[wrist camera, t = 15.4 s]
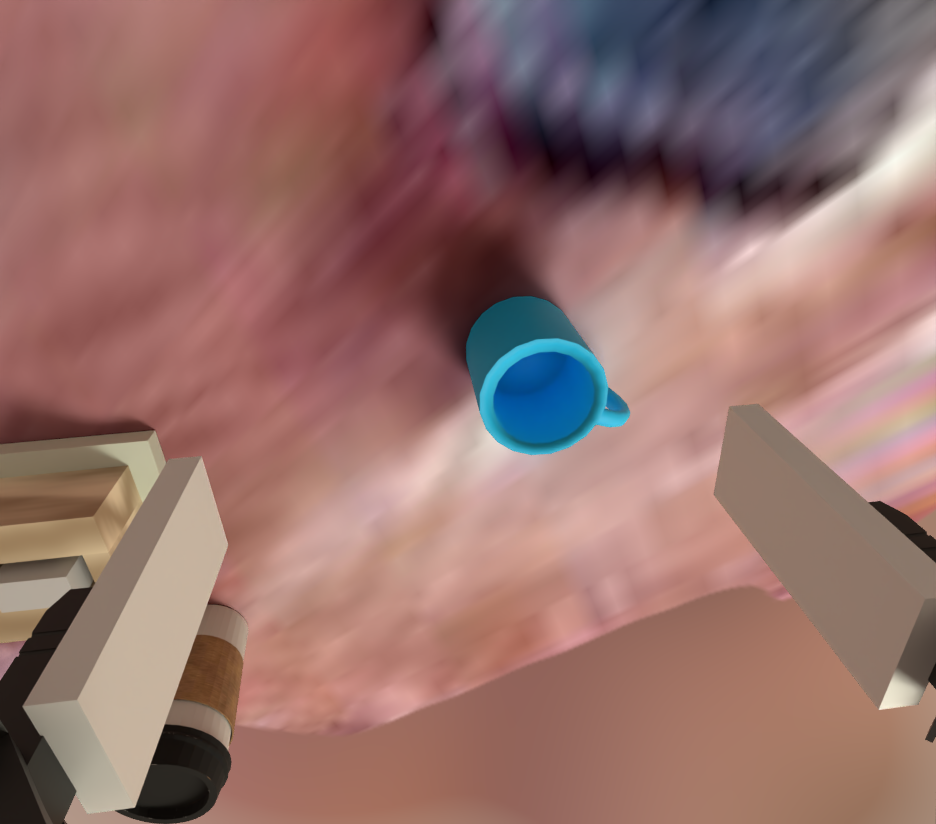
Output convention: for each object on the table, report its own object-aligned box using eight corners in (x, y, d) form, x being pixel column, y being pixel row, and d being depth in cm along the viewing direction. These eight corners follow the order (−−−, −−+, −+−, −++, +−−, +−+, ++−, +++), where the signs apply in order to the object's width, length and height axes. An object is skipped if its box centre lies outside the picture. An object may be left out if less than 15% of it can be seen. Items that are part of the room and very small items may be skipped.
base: (-45, 448, 45) (-133, 522, 37) (154, 430, 46) (108, 498, 38) (30, 591, 51) (-32, 678, 44) (203, 572, 52) (171, 655, 45)
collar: (167, 568, 50) (140, 626, 45) (38, 583, 49) (-4, 643, 44) (128, 465, 45) (93, 516, 40) (-16, 479, 44) (-71, 533, 39)
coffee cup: (226, 579, 53) (171, 745, 40) (281, 639, 57) (247, 808, 44) (143, 616, 54) (62, 789, 41) (202, 672, 58) (146, 847, 45)
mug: (447, 375, 46) (456, 429, 39) (497, 277, 43) (518, 316, 36) (581, 429, 50) (613, 488, 42) (637, 342, 46) (682, 390, 39)
